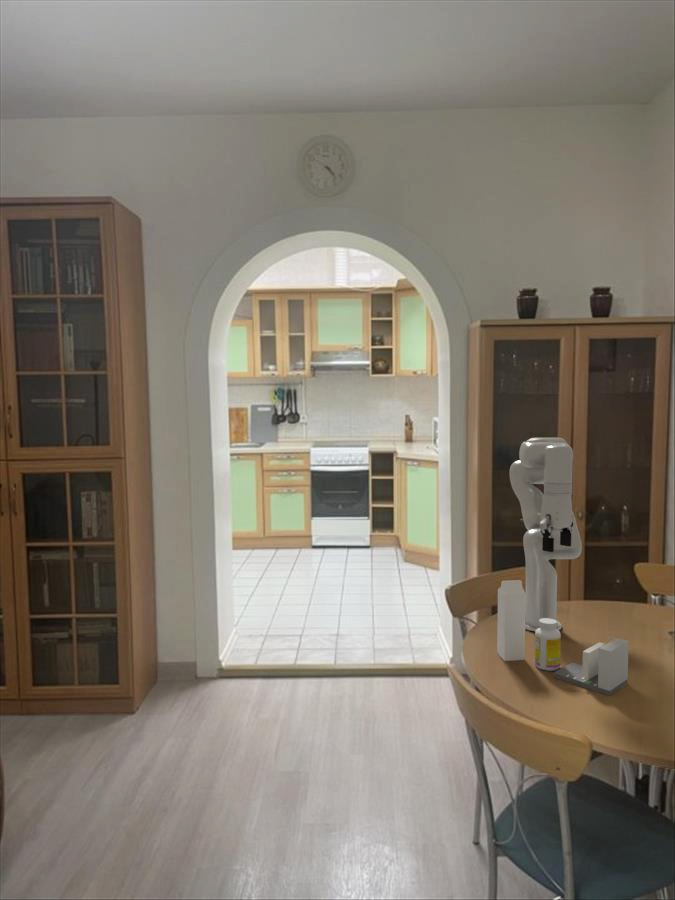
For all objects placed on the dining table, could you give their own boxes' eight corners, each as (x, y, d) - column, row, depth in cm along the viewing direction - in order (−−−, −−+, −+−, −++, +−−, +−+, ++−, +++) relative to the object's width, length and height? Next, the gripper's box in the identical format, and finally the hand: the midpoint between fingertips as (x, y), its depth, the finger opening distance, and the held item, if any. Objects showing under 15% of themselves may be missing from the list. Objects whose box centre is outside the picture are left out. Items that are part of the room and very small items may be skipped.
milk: (497, 653, 191) (497, 577, 190) (517, 652, 192) (517, 577, 190) (504, 661, 185) (504, 583, 184) (525, 660, 186) (526, 582, 184)
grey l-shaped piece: (553, 677, 175) (554, 635, 174) (572, 666, 181) (573, 626, 181) (609, 695, 164) (610, 651, 163) (627, 683, 170) (628, 641, 170)
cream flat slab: (579, 679, 168) (579, 653, 168) (598, 668, 175) (599, 642, 175) (585, 681, 167) (585, 654, 167) (604, 669, 174) (605, 643, 174)
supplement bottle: (564, 666, 182) (565, 620, 181) (553, 674, 177) (554, 626, 176) (541, 659, 186) (542, 615, 185) (530, 667, 181) (531, 621, 180)
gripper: (561, 484, 196) (560, 541, 198) (529, 490, 185) (528, 551, 186) (585, 486, 191) (584, 545, 192) (554, 493, 179) (553, 555, 181)
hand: (556, 548), depth 189 cm, fingers open, 9 cm apart
